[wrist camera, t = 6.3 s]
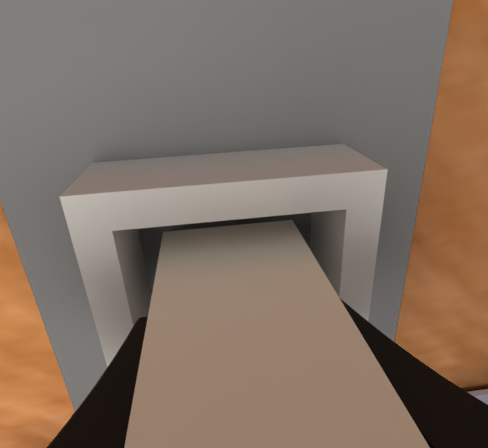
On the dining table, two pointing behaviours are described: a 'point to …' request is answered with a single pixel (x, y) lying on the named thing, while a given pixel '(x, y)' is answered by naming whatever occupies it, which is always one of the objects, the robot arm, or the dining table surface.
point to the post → (257, 351)
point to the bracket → (209, 145)
